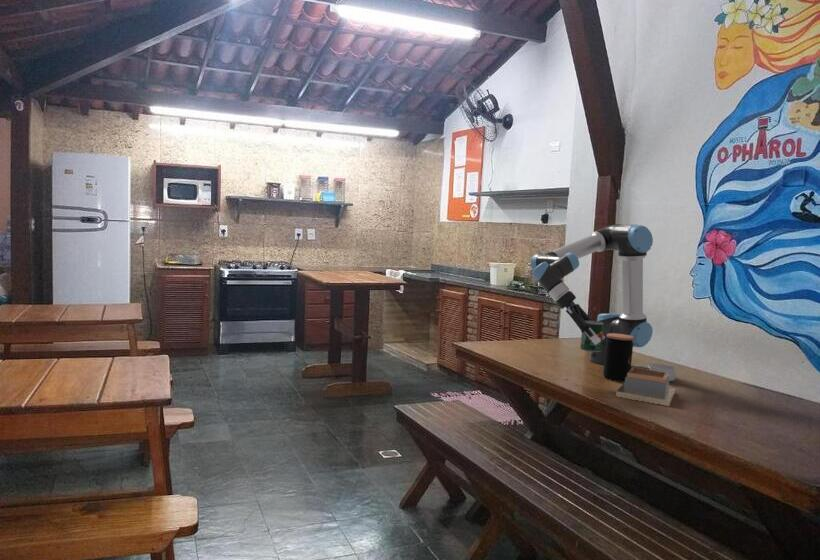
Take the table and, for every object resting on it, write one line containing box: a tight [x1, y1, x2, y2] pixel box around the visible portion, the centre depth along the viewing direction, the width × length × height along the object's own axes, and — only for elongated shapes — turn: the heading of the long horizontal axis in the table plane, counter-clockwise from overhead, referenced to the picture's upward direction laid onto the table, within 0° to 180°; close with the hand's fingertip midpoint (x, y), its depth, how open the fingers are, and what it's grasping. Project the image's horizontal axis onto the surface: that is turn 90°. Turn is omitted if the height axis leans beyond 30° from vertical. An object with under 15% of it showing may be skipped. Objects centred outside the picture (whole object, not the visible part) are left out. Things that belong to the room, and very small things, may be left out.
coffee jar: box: [602, 333, 634, 382], centre depth 249 cm, size 11×11×18 cm
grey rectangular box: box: [615, 367, 676, 407], centre depth 225 cm, size 22×18×8 cm
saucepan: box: [631, 363, 678, 382], centre depth 253 cm, size 12×20×6 cm, turn 102°
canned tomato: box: [579, 320, 604, 353], centre depth 236 cm, size 8×8×11 cm
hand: (600, 341), depth 234 cm, fingers closed on canned tomato, 8 cm apart
